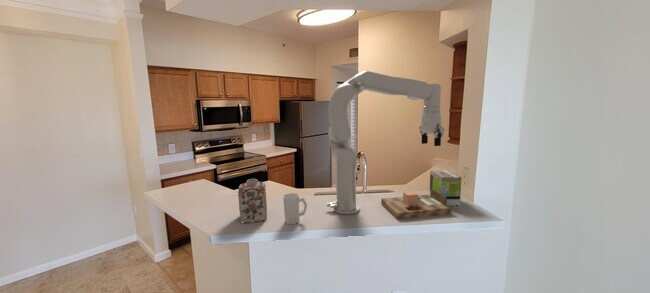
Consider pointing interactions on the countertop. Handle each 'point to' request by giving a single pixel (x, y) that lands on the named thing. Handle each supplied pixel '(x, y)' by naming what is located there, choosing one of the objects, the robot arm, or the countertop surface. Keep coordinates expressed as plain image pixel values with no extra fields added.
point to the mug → (293, 208)
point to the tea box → (446, 185)
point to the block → (410, 198)
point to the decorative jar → (252, 201)
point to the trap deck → (418, 206)
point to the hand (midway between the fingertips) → (430, 144)
